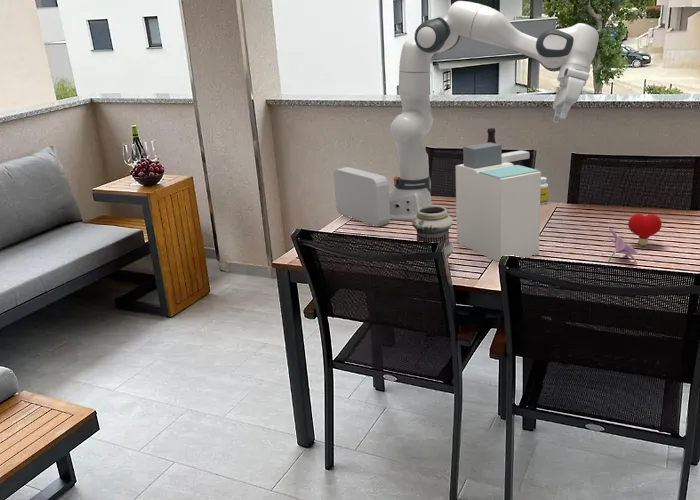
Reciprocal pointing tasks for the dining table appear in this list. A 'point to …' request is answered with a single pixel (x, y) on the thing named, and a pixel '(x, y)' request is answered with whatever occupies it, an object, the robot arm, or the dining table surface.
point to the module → (489, 155)
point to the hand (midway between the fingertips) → (559, 120)
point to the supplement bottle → (544, 191)
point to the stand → (498, 209)
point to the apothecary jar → (434, 226)
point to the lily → (622, 246)
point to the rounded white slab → (362, 196)
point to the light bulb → (644, 226)
